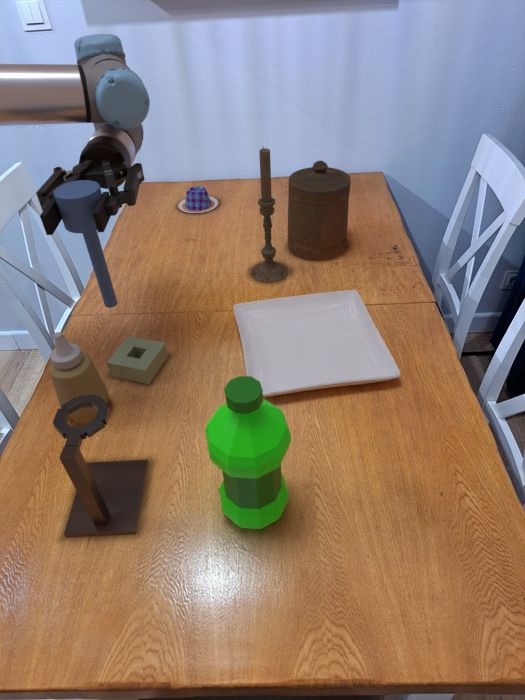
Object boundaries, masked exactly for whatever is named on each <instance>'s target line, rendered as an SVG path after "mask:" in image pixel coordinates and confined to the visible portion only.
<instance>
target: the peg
mask: <svg viewBox="0 0 525 700" xmlns="http://www.w3.org/2000/svg"><path fill="white" fill-rule="evenodd" d="M102 193H103V191H102V188H100V185H99V184H98V183H97V182H95V181H91V180H78V181H72V182H68V183H65V184H63V185H61V186H59V187H57V188H56V189H55V190H54V196H55V199H56V202H57V205H58V208H59V211H60V214H61V217H62V220H61V221H62V224H63V226H64V229H65V230H66V231H67V232H68V233H72V234H82V236H83V240H84V243H85V246H86V250H87V254H88V256H89V259H90V262H91V266H92V268H93V272H94V275H95V278H96V282H97V285H98V289H99V291H100V294H101V298H102V301H103V303H104V306H105V308H108V309H109V308H110V309H111V308H114V307H117V306H118V299H117V295H116V293H115V289H114V284H113V282H112V278H111V275H110V272H109V268H108V265H107V261H106V258H105V254H104V251H103V247H102V244H101V239H100V237H99V232H98V230H97V227H96V223H95V220H94V216H93V211H94V209H95V207H96V205H97V203H98V201H99V199H100V197H101V195H102Z"/></svg>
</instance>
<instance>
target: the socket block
mask: <svg viewBox="0 0 525 700" xmlns="http://www.w3.org/2000/svg"><path fill="white" fill-rule="evenodd" d="M167 349H168V348H167V344H166V343H165V342H163V341H158V340H154V339H153V340H152V339H147V338H144V337H143V338H142V337H137V336H132V335H128V336H127V337H126V338H125V340H124V341H123V342H122V343H121V345H120V346H119V347H118V348H117V350H115V352H114V353H113V354H112V355H111V356H110V358H109V359H108V360H107V362H106V363H107V367H108V370H109V372H110V375H111V377H114V378H117V379H121V380H123V379H124V380H127V381H132V382H137V383H141V384H145V385H150V384H151V382H152V381H153V380H154V378H155V377H156V375H157V374H158V372H159V371H160V369H161V368H162V366H163V365H164V364H165V362H166V360H167V359H168V358H169V354H168V350H167Z"/></svg>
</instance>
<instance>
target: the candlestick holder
mask: <svg viewBox="0 0 525 700" xmlns="http://www.w3.org/2000/svg"><path fill="white" fill-rule="evenodd" d="M258 151H259V169H260V170H259V173H260V176H259V177H260V194H261V195H260V196H261V197H260V198H259V199H258V200H257V204H258V206H260V207H259V214H260V215H261V216H263V219H262V220H263V221H262V222H263V223H262V228H263V229H264V230H263V232H264V237H263V238H264V241H265V242H264V246H263V247H262V248H261V249H260V253H261V256H262V258H263V259H264V261H262V262H259V263H258V264H256V265H253V267H251V269H250V276H251V278H253V280H255V281H257V282H259V283H265V284H272V283H277V282H280V281H283V280H284V279H286V277H287V276H288V275H289V269H288V267H287V266H286V265H284V264H283V263H280V262H278V261H275V260H274V258H275V256H276V252H277V249H276V247H274V246H273V245H272V229H273V223H272V218H271V216H272V215H274V213H275V207H274V205H275V204H276V199H275V198H274V197H272V196H273V195H272V169H271V168H272V167H271V165H272V164H271V150H270V149H269V148H265V147H264V146H262V148H261V149H259V150H258Z"/></svg>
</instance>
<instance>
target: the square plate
mask: <svg viewBox="0 0 525 700" xmlns="http://www.w3.org/2000/svg"><path fill="white" fill-rule="evenodd" d="M232 309H233V314H234V318H235V322H236V325H237V329H238V333H239V338H240V342H241V346H242V347H241V348H242V351H243V359H244V366H245V374H246V375H245V376H251V377H253V378H255V379H256V380H258V381H259V382H260V384H261V387H262V392H263V398H264V397H265V398H267V397H274V396H282V395H287V394H288V395H289V394H293V393H299V392H305V391H314V390H321V389H328V388H336V387H345V386H346V387H347V386H355V385H366V384H372V383H379V382H385V381H390V380H394V379H399V378H400V377H402V372H401V370H400V368H399V366H398V365H397V362H396V361H395V359H394V357H393V355H392V353H391V351H390V350H389V348H388V347H387V345H386V343H385V340H384V339H383V337H382V335H381V333H380V332H379V330H378V328H377V326H376V324H375V322H374V320H373V318H372V316H371V314H370V312H369V311H368V308H367V306H366V304H365V302H364V300H363V298H362V296H361V294H360V293H359V291H358V290H357V289H343V290H335V291H334V290H333V291H326V292H325V291H324V292H316V293H315V292H314V293H308V294H299V295H292V296H283V297H275V298H269V299H261V300H254V301H247V302H240V303H235V304H234V305H233V307H232Z"/></svg>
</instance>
